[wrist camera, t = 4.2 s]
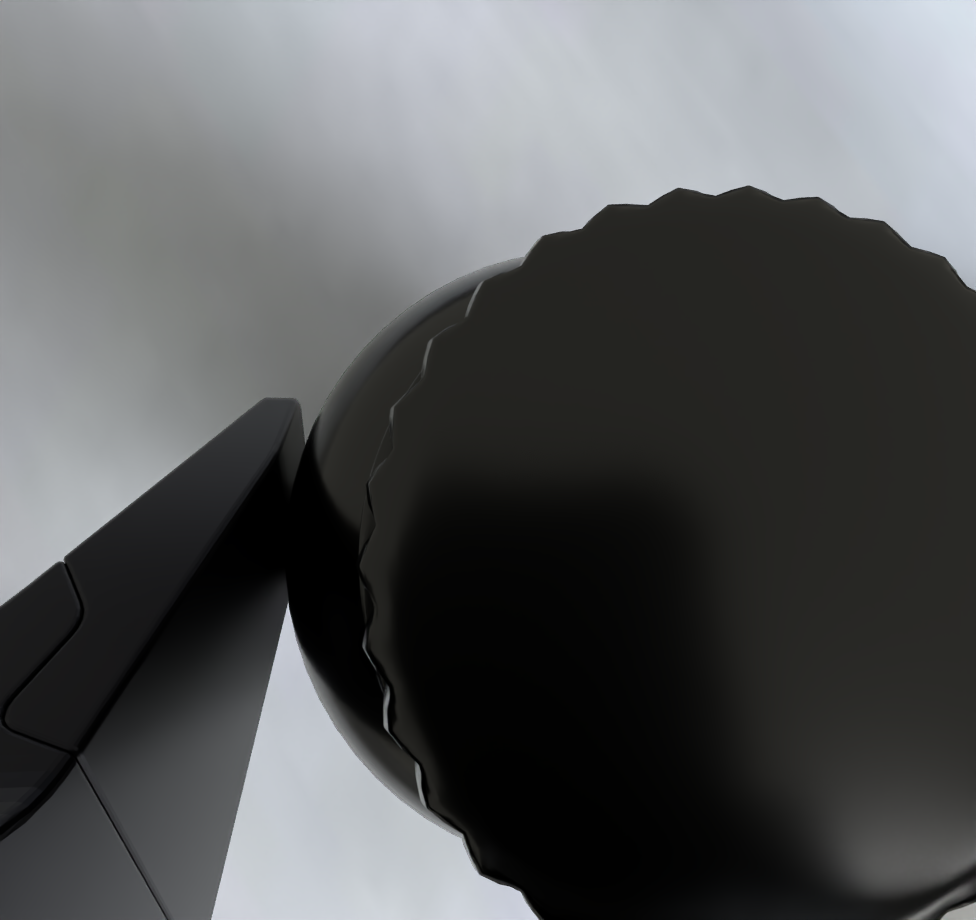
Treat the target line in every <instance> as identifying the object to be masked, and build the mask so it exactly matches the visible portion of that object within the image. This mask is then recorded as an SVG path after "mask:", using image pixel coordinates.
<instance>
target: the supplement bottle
mask: <svg viewBox="0 0 976 920" xmlns="http://www.w3.org/2000/svg"><path fill="white" fill-rule="evenodd" d="M285 572H286V585H287V593H288V602H289V610H290V614H291V619H292V623H293V627H294V632H295V636H296V641H297V644H298V647H299V650H300V653H301V656H302V659H303V662H304V665H305V668H306V671H307V673H308V675H309V677H310V680H311V682H312V684H313V686H314V688H315V691H316V693H317V695H318V697H319V700H320V701H321V703H322V705H323V706H324V708H325V710H326V712H327V713H328V715H329V717H330V719H331V720H332V722H333V724H334V726H335V727H336V729H337V730H338V731H339V733H340V734H341V735H342V737H343V738H344V740H345V741H346V742H347V744H348V745H349V747H350V748H351V749H352V751H353V752H354V753H355V755H356V756H357V757H358V758H359V759H360V760H361V761H362V763H363V764H364V765H365V766H366V767H367V768H368V769H369V770H370V772H371V773H372V774H373V775H374V776H375V777H376V778H377V779H378V780H379V781H380V782H381V783H382V784H383V785H384V786H386V787H387V788H388V789H389V790H390V791H391V792H392V793H393V794H394V795H395V796H397V797H398V798H399V799H400V800H401V801H403V802H404V803H405V804H407V805H408V806H409V807H411V808H412V809H413V810H415V811H416V812H417V813H419V814H420V815H422V816H423V817H424V818H426V819H427V820H429V821H431V822H432V823H434V824H436V825H438V826H439V827H441V828H443V829H444V830H446V831H448V832H450V833H451V834H453V835H455V836H457V837H460V838H462V841H463V845H464V847H465V849H466V852H467V854H468V856H469V858H470V860H471V863H472V865H473V867H474V869H475V870H476V871H477V872H478V873H479V875H481V876H483V877H485V878H488V879H490V880H492V881H494V882H496V883H498V884H501V885H506V886H510V887H512V888H514V889H516V890H518V891H520V892H521V893H522V895H523V898H524V900H525V902H526V903H527V905H528V906H529V907H530V909H531V910H532V911H533V913H534V914H535V915H536V917H537V918H538V919H539V920H941V919H942V917H943V916H944V915H945V914H946V913H947V912H950V911H953V910H956V909H959V908H963V907H965V906H968V905H970V904H973V903H975V902H976V291H975V290H973V289H971V288H969V287H967V286H966V284H965V283H964V282H963V281H962V280H961V278H960V277H959V276H958V274H957V272H956V270H955V269H954V268H953V267H952V265H951V264H950V263H949V262H948V261H947V259H946V258H945V257H943V256H940V255H937V254H935V253H932V252H929V251H925V250H921V249H918V248H914V247H911V246H910V245H909V244H908V243H907V242H906V241H905V240H904V239H903V238H902V237H901V236H900V235H899V234H898V233H897V232H896V231H895V230H893V229H892V228H891V227H890V226H889V225H888V224H887V223H885V222H884V221H879V220H873V219H865V218H850V217H848V216H846V215H845V214H843V213H841V212H840V211H838V210H837V209H836V208H835V207H834V206H833V205H831V204H829V203H828V202H826V201H824V200H823V199H821V198H819V197H805V198H796V199H789V200H782V199H779V198H777V197H774V196H772V195H770V194H769V193H767V192H765V191H763V190H760V189H757V188H754V187H752V186H745V187H741V188H737V189H733V190H730V191H728V192H725V193H722V194H719V195H717V196H714V195H708V194H703V193H700V192H698V191H694V190H689V189H683V188H677V189H675V190H673V191H671V192H669V193H667V194H665V195H663V196H661V197H660V198H658V199H657V200H655V201H654V202H652V203H650V204H649V205H635V204H612V205H607V206H606V207H605V208H603V209H602V210H601V211H600V212H599V213H597V214H596V215H595V216H594V217H593V218H591V219H590V220H589V221H588V222H587V223H586V225H585V226H584V227H583V228H582V229H579V230H574V231H570V232H564V231H562V232H557V233H553V234H549V235H544V236H542V237H541V238H539V239H538V240H537V241H536V242H535V244H534V245H533V246H532V248H531V249H530V250H529V252H528V253H527V254H526V255H525V257H521V258H516V259H511V260H508V261H504V262H501V263H498V264H494V265H491V266H488V267H485V268H482V269H480V270H477V271H475V272H472V273H470V274H468V275H465V276H463V277H460V278H458V279H456V280H454V281H452V282H450V283H449V284H447V285H445V286H443V287H441V288H439V289H437V290H435V291H434V292H432V293H430V294H429V295H427V296H426V297H424V298H423V299H421V300H420V301H418V302H417V303H415V304H414V305H412V306H411V307H409V308H408V309H407V310H405V311H404V312H403V313H402V314H401V315H399V316H398V317H397V318H396V319H395V320H393V321H392V322H391V323H390V324H389V325H387V326H386V327H385V328H384V329H383V330H382V331H381V332H380V333H379V334H378V335H377V336H376V337H375V338H374V339H373V340H372V341H371V342H370V343H369V344H368V345H367V346H366V347H365V348H364V349H363V350H362V351H361V352H360V354H359V355H358V356H357V357H356V359H355V360H354V361H353V362H352V364H351V365H350V366H349V367H348V369H347V370H346V371H345V372H344V374H343V375H342V377H341V378H340V380H339V381H338V383H337V384H336V386H335V387H334V389H333V390H332V392H331V393H330V395H329V396H328V398H327V400H326V402H325V404H324V406H323V407H322V409H321V411H320V413H319V415H318V417H317V419H316V421H315V423H314V425H313V427H312V430H311V432H310V435H309V437H308V440H307V442H306V445H305V447H304V450H303V452H302V455H301V458H300V462H299V465H298V469H297V472H296V476H295V479H294V483H293V487H292V493H291V498H290V504H289V509H288V515H287V527H286V540H285Z"/></svg>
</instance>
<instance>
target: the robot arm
mask: <svg viewBox="0 0 976 920" xmlns="http://www.w3.org/2000/svg"><path fill="white" fill-rule="evenodd" d="M304 447H305V440H304V431H303V422H302V413H301V406H300V403H299V402H298V400H296V399H294V398H264V399H263V400H261V401H260V402H258V403H257V404H256V405H255V406H253V407H252V408H251V409H250V410H248V411H247V412H246V413H244V414H243V415H242V416H241V417H239V418H238V419H237V420H236V421H234V422H233V423H232V424H231V425H229V426H228V427H227V428H226V429H224V430H223V431H222V432H221V433H219V434H218V435H217V436H216V437H214V438H213V439H212V440H211V441H209V442H208V443H207V444H206V445H204V446H203V447H202V448H200V449H199V450H198V451H197V452H195V453H194V454H193V455H192V456H190V457H189V458H188V459H187V460H185V461H184V462H183V463H182V464H180V465H179V466H178V467H177V468H175V469H174V470H173V471H172V472H170V473H169V474H168V475H167V476H165V477H164V478H163V479H162V480H160V481H159V482H158V483H156V484H155V485H154V486H153V487H151V488H150V489H149V490H148V491H146V492H145V493H144V494H143V495H141V496H140V497H139V498H138V499H136V500H135V501H134V502H133V503H131V504H130V505H129V506H128V507H126V508H125V509H124V510H123V511H121V512H120V513H119V514H118V515H116V516H115V517H114V518H112V519H111V520H110V521H109V522H107V523H106V524H105V525H104V526H102V527H101V528H100V529H99V530H97V531H96V532H95V533H94V534H92V535H91V536H90V537H89V538H87V539H86V540H85V541H84V542H82V543H81V544H80V545H79V546H77V547H76V548H75V549H74V550H72V551H71V552H70V553H68V554H67V555H66V556H65V557H64V562H65V563H64V562H57V563H55V564H54V565H53V566H52V567H50V568H49V569H48V570H47V571H45V572H44V573H43V574H42V575H40V576H39V577H38V578H37V579H35V580H34V581H33V582H32V583H30V584H29V585H28V586H26V587H25V588H24V589H22V590H21V591H20V592H19V593H17V594H16V595H15V596H13V597H12V598H11V599H9V600H8V601H7V602H5V603H4V604H3V605H1V606H0V920H211V918H212V914H213V909H214V905H215V901H216V897H217V893H218V889H219V885H220V881H221V876H222V872H223V868H224V864H225V860H226V856H227V852H228V848H229V843H230V839H231V835H232V831H233V827H234V823H235V819H236V815H237V810H238V806H239V802H240V798H241V794H242V790H243V786H244V782H245V778H246V773H247V769H248V765H249V761H250V757H251V753H252V749H253V745H254V740H255V736H256V732H257V728H258V724H259V720H260V716H261V712H262V707H263V703H264V699H265V695H266V691H267V687H268V683H269V679H270V674H271V670H272V666H273V662H274V658H275V654H276V650H277V646H278V641H279V637H280V633H281V629H282V625H283V621H284V617H285V613H286V608H287V604H288V593H287V585H286V572H285V540H286V527H287V515H288V509H289V504H290V498H291V493H292V487H293V483H294V479H295V476H296V472H297V469H298V465H299V462H300V458H301V455H302V452H303V450H304Z"/></svg>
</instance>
